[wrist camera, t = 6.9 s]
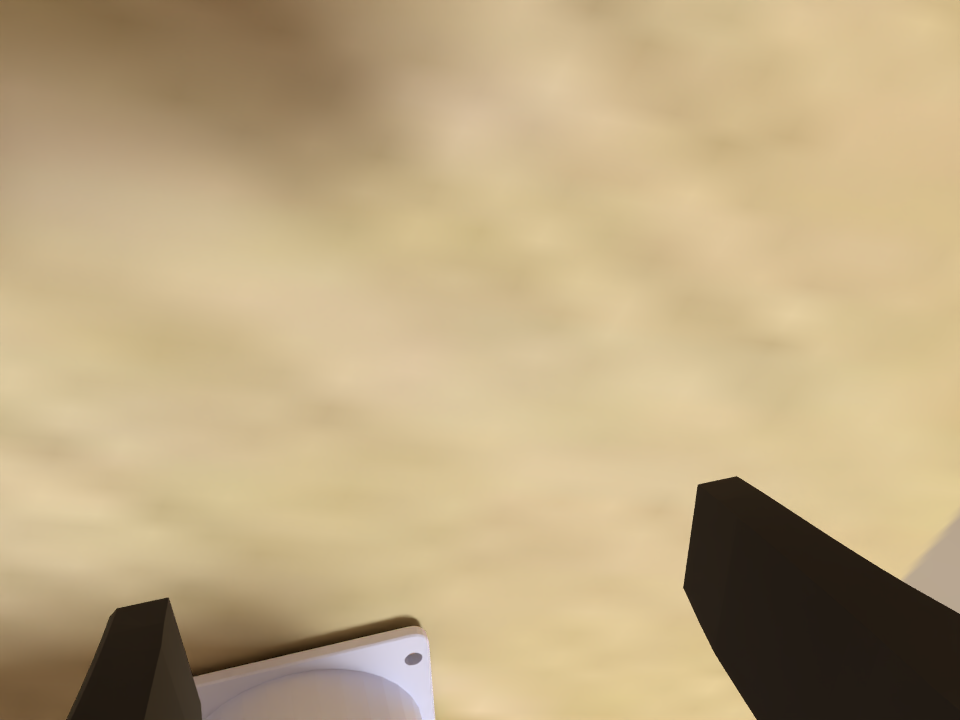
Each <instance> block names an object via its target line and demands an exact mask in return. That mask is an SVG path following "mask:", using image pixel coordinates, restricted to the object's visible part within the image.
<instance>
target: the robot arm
mask: <svg viewBox="0 0 960 720" xmlns="http://www.w3.org/2000/svg"><path fill="white" fill-rule="evenodd" d="M683 588H684V590H685V592H686V595H687V597H688V599H689V601H690V603H691V605H692V608H693V610H694V612H695V614H696V616H697V618H698V621H699V623H700V625H701V627H702V629H703V631H704V633H705V635H706V637H707V639H708V641H709V643H710V645H711V647H712V649H713V651H714V653H715V655H716V656H717V658H718V659H719V661H720V663H721V664H722V666H723V667H724V669H725V671H726V672H727V674H728V675H729V677H730V679H731V680H732V682H733V683H734V685H735V686H736V688H737V690H738V691H739V693H740V694H741V696H742V697H743V699H744V701H745V702H746V704H747V705H748V707H749V708H750V710H751V711H752V713H753V715H754V716H755V718H756V719H757V720H960V614H959V613H957V612H955V611H954V610H952V609H950V608H948V607H947V606H945V605H943V604H941V603H939V602H938V601H936V600H934V599H932V598H931V597H929V596H927V595H925V594H923V593H921V592H920V591H918V590H916V589H915V588H913V587H911V586H909V585H908V584H906V583H904V582H903V581H901V580H899V579H898V578H896V577H894V576H893V575H891V574H889V573H888V572H886V571H884V570H883V569H881V568H879V567H878V566H876V565H874V564H873V563H871V562H870V561H868V560H866V559H865V558H863V557H862V556H860V555H858V554H857V553H855V552H854V551H852V550H850V549H849V548H847V547H846V546H844V545H843V544H841V543H839V542H838V541H836V540H835V539H833V538H832V537H830V536H828V535H827V534H825V533H824V532H822V531H821V530H819V529H818V528H816V527H815V526H813V525H812V524H810V523H809V522H807V521H805V520H804V519H802V518H801V517H799V516H798V515H796V514H795V513H793V512H792V511H790V510H789V509H787V508H786V507H784V506H783V505H781V504H779V503H778V502H776V501H775V500H773V499H772V498H770V497H769V496H767V495H766V494H764V493H763V492H761V491H759V490H758V489H756V488H755V487H753V486H752V485H750V484H748V483H747V482H745V481H743V480H742V479H740V478H739V477H737V476H736V477H731V478H727V479H722V480H717V481H713V482H708V483H703V484H699V485H698V487H697V494H696V501H695V508H694V516H693V523H692V530H691V537H690V544H689V551H688V558H687V565H686V572H685V579H684V586H683ZM411 653H414V654H411ZM409 654H411V655H409ZM66 720H435V711H434V699H433V687H432V675H431V663H430V650H429V641H428V638H427V634H426V632H425V630H424V629H423V628H421V627H418V626H408V627H404V628H400V629H396V630H391V631H387V632H383V633H378V634H374V635H370V636H366V637H361V638H357V639H353V640H348V641H344V642H340V643H336V644H331V645H327V646H323V647H318V648H314V649H310V650H306V651H301V652H297V653H293V654H289V655H284V656H280V657H276V658H271V659H267V660H263V661H259V662H254V663H250V664H246V665H241V666H237V667H233V668H229V669H224V670H220V671H216V672H211V673H207V674H203V675H199V676H194V677H193V676H192V672H191V669H190V666H189V662H188V659H187V656H186V653H185V649H184V646H183V643H182V640H181V636H180V633H179V630H178V626H177V623H176V620H175V617H174V613H173V610H172V607H171V604H170V600H169V598H164V599H159V600H154V601H150V602H145V603H140V604H136V605H131V606H126V607H122V608H117V609H116V610H115V611H114V613H113V614H112V615H111V616H110V617H109V620H108V623H107V625H106V628H105V631H104V633H103V636H102V639H101V641H100V644H99V646H98V649H97V651H96V654H95V656H94V658H93V661H92V663H91V666H90V668H89V670H88V673H87V675H86V677H85V680H84V682H83V684H82V686H81V689H80V691H79V693H78V695H77V697H76V700H75V702H74V704H73V706H72V709H71V711H70V713H69V715H68V717H67V719H66Z"/></svg>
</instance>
